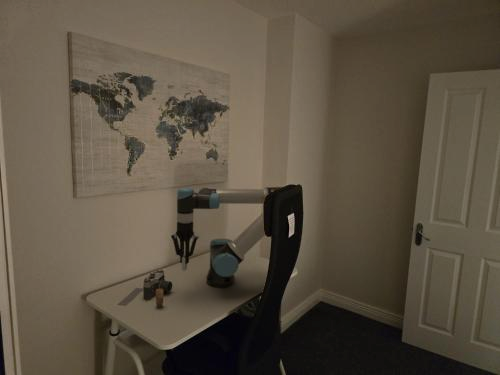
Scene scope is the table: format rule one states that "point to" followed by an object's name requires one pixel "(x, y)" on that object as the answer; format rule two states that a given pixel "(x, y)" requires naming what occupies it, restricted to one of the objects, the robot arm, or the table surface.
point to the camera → (155, 284)
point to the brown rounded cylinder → (159, 298)
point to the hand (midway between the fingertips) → (184, 269)
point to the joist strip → (130, 296)
